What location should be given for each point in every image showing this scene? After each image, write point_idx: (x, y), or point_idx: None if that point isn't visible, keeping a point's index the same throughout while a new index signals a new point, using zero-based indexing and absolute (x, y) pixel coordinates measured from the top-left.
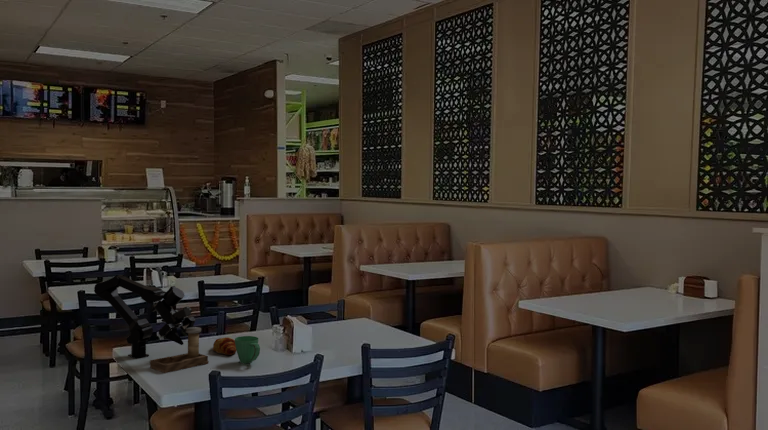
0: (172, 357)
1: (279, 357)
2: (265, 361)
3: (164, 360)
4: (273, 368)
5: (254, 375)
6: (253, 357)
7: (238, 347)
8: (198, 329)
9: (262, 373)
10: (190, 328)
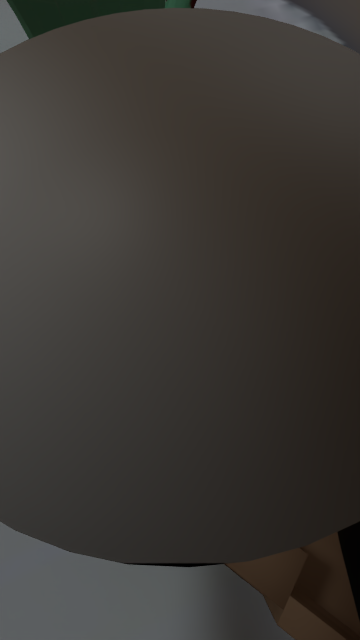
0: (303, 557)
1: (11, 20)
2: None
3: (346, 631)
4: (201, 4)
5: (328, 33)
6: (193, 6)
7: (156, 6)
8: (238, 37)
9: (288, 18)
10: (138, 329)
